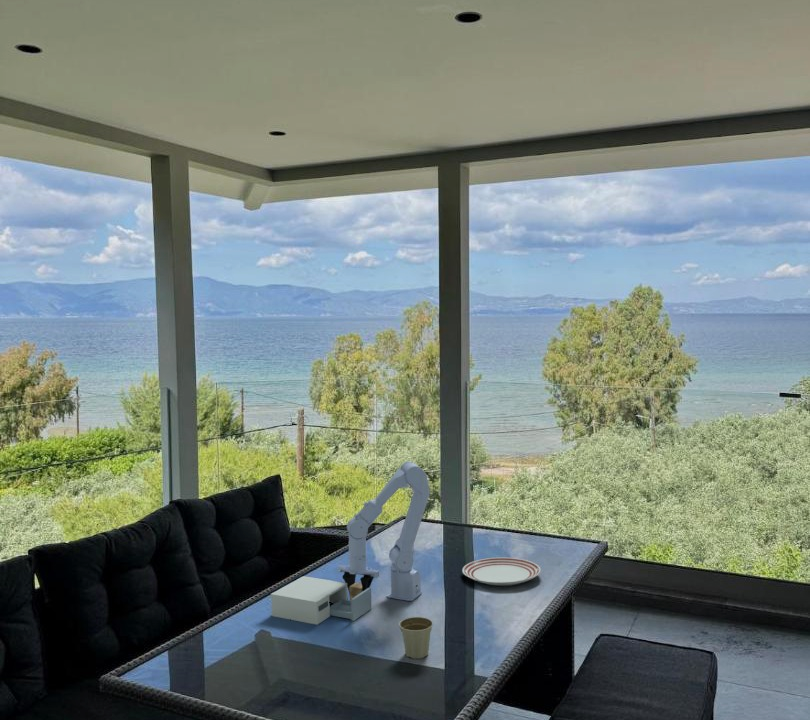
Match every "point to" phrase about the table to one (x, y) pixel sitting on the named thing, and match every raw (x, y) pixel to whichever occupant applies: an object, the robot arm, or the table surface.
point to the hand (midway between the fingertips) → (358, 596)
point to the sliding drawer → (352, 606)
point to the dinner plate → (501, 571)
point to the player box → (307, 599)
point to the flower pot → (416, 636)
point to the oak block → (355, 589)
